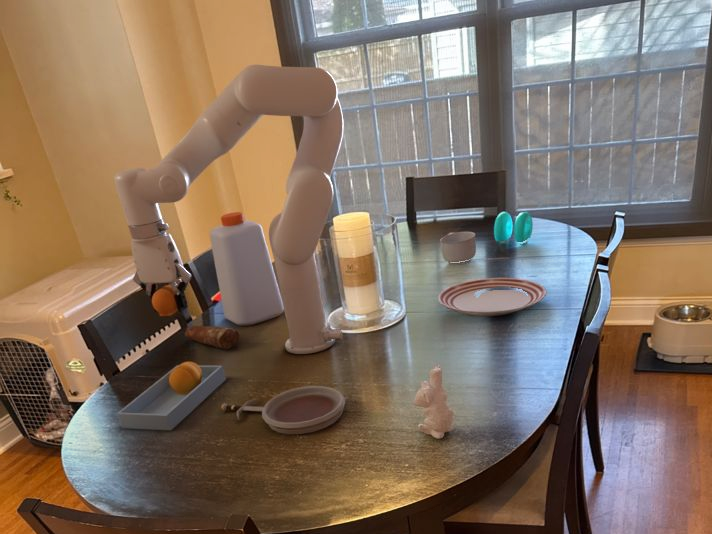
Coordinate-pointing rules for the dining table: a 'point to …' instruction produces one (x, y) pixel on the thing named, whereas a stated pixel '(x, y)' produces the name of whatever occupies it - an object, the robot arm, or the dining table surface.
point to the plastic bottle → (244, 271)
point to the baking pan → (168, 402)
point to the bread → (213, 336)
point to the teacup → (458, 247)
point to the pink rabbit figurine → (434, 406)
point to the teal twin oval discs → (505, 227)
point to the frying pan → (299, 409)
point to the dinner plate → (491, 296)
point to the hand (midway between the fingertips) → (171, 309)
